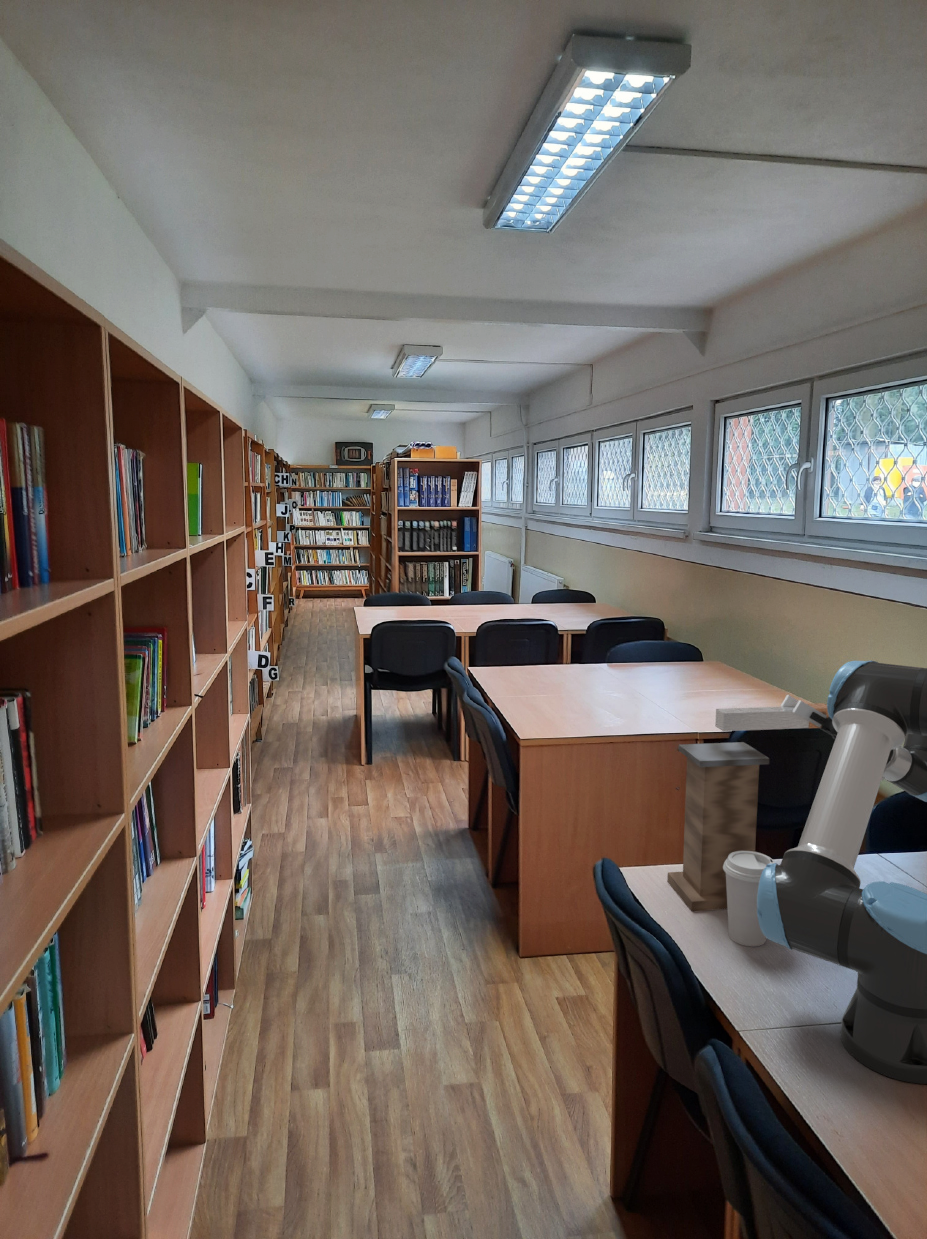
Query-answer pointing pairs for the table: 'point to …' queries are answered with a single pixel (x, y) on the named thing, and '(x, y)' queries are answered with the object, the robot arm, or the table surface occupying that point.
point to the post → (716, 818)
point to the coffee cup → (744, 896)
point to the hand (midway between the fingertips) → (790, 703)
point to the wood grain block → (764, 718)
